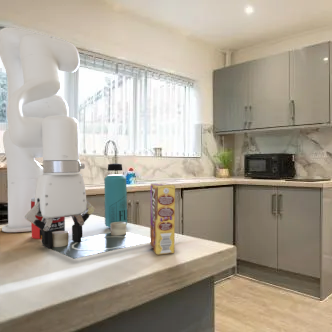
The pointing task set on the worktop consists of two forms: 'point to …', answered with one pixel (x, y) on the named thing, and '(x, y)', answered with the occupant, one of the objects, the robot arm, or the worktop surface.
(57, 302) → the worktop surface
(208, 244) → the worktop surface
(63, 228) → the canned food
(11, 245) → the worktop surface
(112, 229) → the puck eye
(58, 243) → the puck eye
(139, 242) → the chalkboard
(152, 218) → the candy box
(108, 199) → the beverage bottle
